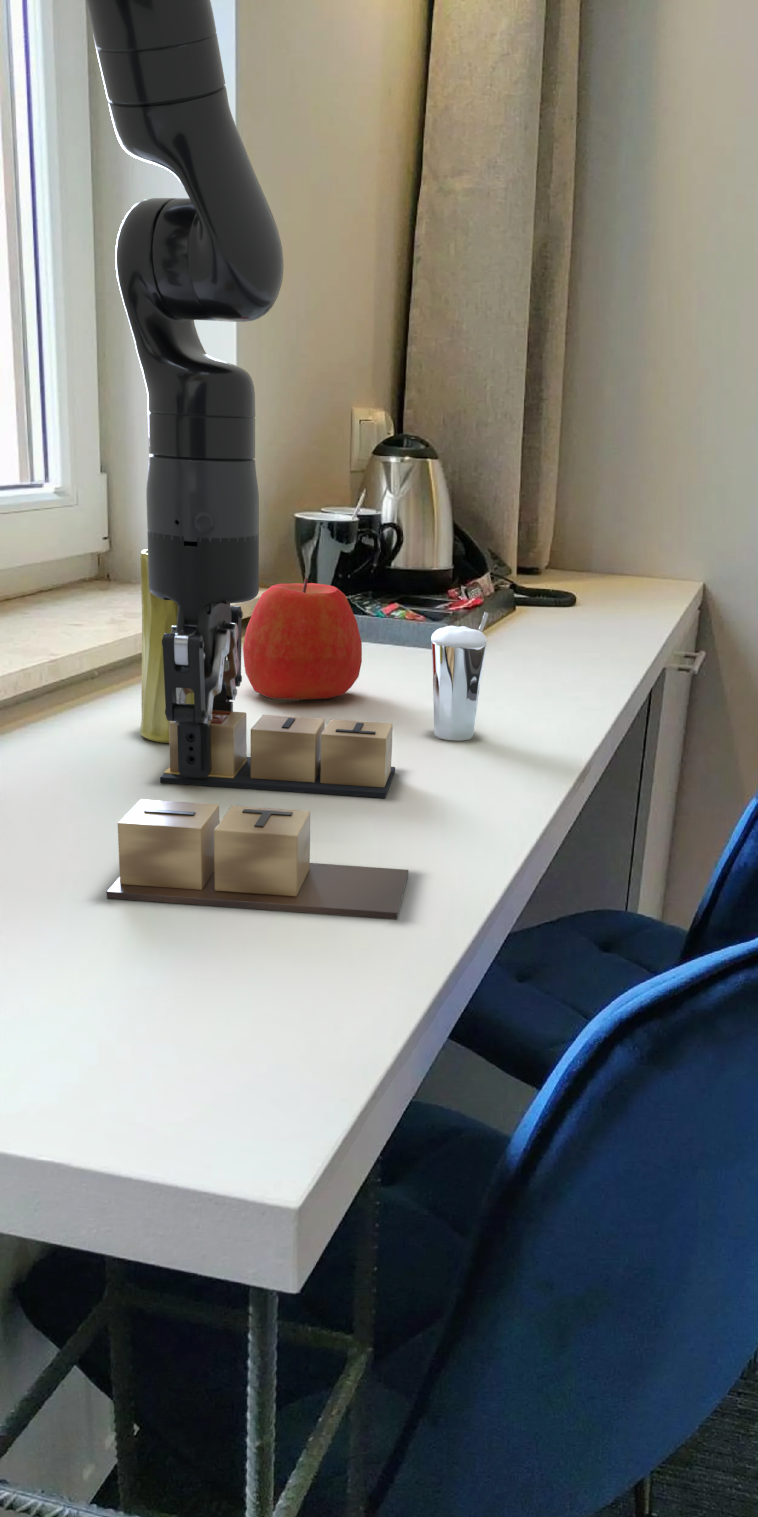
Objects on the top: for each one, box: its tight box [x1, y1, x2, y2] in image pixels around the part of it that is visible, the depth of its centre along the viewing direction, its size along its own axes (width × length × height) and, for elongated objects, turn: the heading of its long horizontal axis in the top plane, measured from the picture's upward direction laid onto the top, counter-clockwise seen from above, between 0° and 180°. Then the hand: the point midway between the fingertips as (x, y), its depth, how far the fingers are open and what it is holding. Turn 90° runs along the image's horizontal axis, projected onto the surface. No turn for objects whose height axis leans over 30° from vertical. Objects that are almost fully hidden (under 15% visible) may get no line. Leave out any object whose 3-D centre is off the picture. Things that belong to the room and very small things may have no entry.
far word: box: [159, 714, 396, 799], centre depth 96 cm, size 16×7×4 cm, turn 87°
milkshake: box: [430, 611, 490, 742], centre depth 110 cm, size 4×5×10 cm
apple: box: [242, 577, 363, 701], centre depth 120 cm, size 11×11×11 cm
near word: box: [106, 798, 410, 920], centre depth 75 cm, size 16×7×4 cm, turn 87°
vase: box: [139, 548, 194, 744], centre depth 104 cm, size 6×6×14 cm
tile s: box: [168, 710, 248, 776], centre depth 96 cm, size 5×5×4 cm
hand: (206, 762), depth 97 cm, fingers open, 6 cm apart
